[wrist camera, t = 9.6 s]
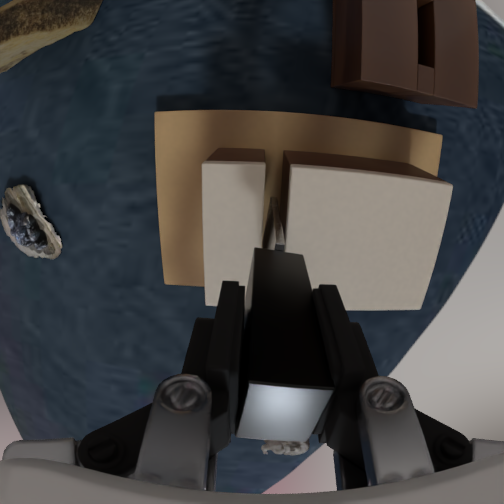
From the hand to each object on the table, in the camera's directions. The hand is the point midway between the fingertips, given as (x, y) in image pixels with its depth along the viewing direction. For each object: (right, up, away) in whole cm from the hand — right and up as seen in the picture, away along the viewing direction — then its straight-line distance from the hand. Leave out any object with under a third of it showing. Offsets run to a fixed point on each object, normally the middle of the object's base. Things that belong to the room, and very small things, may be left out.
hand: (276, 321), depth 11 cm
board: (+3, +6, +12) cm, 13 cm away
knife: (0, +4, +9) cm, 10 cm away
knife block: (+8, +16, +7) cm, 19 cm away
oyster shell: (-20, +5, +13) cm, 25 cm away
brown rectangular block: (-2, +5, +11) cm, 12 cm away
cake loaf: (+6, +5, +11) cm, 13 cm away
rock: (-17, +20, +6) cm, 27 cm away
